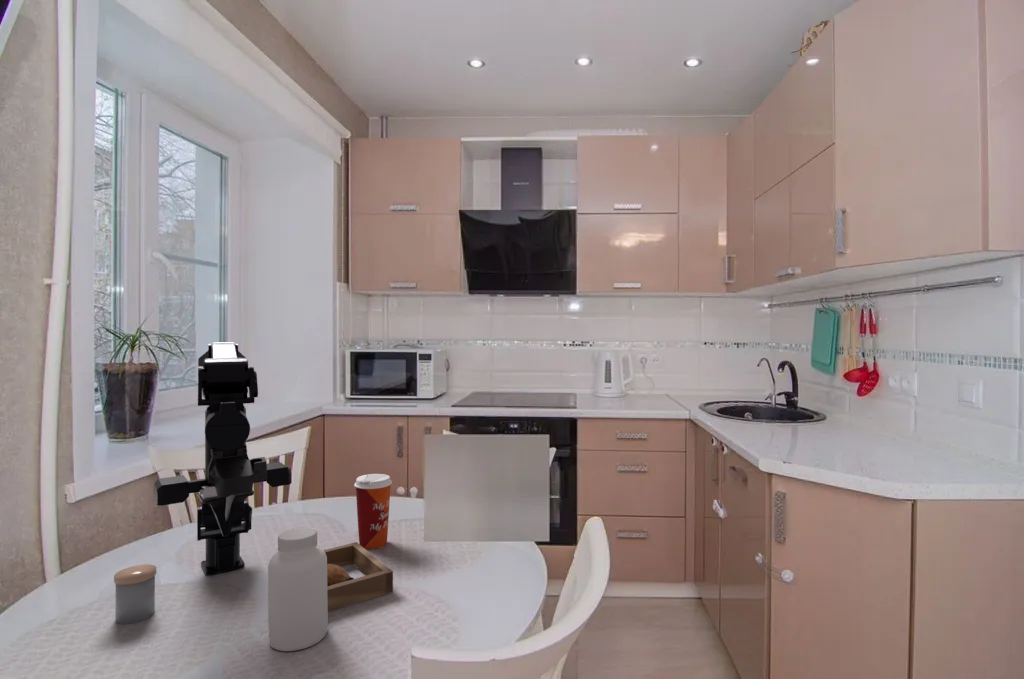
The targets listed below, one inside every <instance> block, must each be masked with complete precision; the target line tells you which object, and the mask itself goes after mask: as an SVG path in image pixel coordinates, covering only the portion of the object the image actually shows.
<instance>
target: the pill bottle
mask: <svg viewBox="0 0 1024 679" xmlns="http://www.w3.org/2000/svg"><path fill="white" fill-rule="evenodd" d="M324 550H325V549H323V548H321V547H320V546H318V531H317V529H316V528H312V527H297V528H296V527H295V528H291V529H288V530H283V531H282V532H281V533H279V535H278V536H277V552H276V553H275V554H273V555H272V556H271V558H270V559H269V562H268V566H267V592H268V593H267V601H268V604H267V608H268V609H267V610H268V612H267V618H268V620H267V621H268V623H267V624H268V641H269V642H268V643H269V644H270V646H271V647H272V648H273V649H275V650H277V651H281V652H295V651H300V650H304V649H306V648H310V647H312V646H314V645H315V644H318V643H319V642H320V641H321V640H323V639H324V638H325V636H326V635H327V632H328V629H329V628H328V625H329V622H328V621H329V618H328V617H329V614H328V613H329V612H328V598H327V556H326V553H325V551H324Z"/></svg>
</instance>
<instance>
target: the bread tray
mask: <svg viewBox="0 0 1024 679" xmlns="http://www.w3.org/2000/svg"><path fill="white" fill-rule="evenodd" d="M323 550H324V551H325V553H326V556H327V564H334V565H338V566H340V567H341V568H343V567H345V566H350V565H354V567H356V568H357V569H358V570H359V571H360V572H361V573H363V576H360V577H356V578H353V579H352V580H349V581H345V582H342V583H338V584H334V585H331V586H327V598H328V613H329V612H333V611H336V610H340V609H343V608H345V607H349V606H353V605H355V604H358V603H361V602H364V601H368V600H371V599H375V598H378V597H382V596H384V595H387V594H390V593H391V594H392V593H393V592H394V571H393V570H392V569H390V567H388V566H387V565H386V564H385V563H383V562H382V561H381V560H379V559H378V558H377V557H375V555H373V554H372V553H370V552H369V551H368V549H364V548H363V547H362V546H361V545H359V542H351V543H348V544H344V545H339V546H335V547H329V548H326V549H323Z"/></svg>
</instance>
